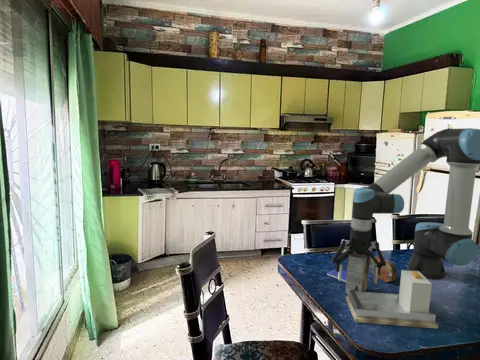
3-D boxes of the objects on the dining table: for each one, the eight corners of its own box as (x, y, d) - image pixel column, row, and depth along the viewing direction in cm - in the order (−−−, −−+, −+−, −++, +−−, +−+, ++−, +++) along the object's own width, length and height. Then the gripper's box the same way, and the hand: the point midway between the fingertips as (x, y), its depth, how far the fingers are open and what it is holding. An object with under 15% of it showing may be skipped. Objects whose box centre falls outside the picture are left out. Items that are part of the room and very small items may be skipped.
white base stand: (418, 302, 123) (419, 293, 123) (434, 322, 110) (436, 312, 109) (347, 297, 126) (348, 288, 125) (356, 316, 113) (356, 306, 112)
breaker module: (415, 302, 122) (419, 268, 120) (427, 318, 112) (432, 280, 110) (398, 301, 122) (401, 267, 120) (409, 316, 112) (412, 279, 110)
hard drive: (327, 272, 148) (352, 282, 139) (337, 267, 154) (362, 277, 145) (326, 275, 149) (352, 285, 140) (337, 271, 154) (362, 280, 145)
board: (417, 303, 125) (418, 300, 124) (438, 328, 109) (438, 325, 109) (345, 298, 127) (345, 295, 127) (355, 322, 112) (355, 318, 111)
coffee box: (350, 284, 139) (353, 247, 137) (367, 288, 136) (370, 250, 134) (344, 293, 131) (347, 254, 129) (361, 298, 128) (365, 257, 126)
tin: (366, 271, 154) (368, 253, 152) (372, 270, 154) (374, 252, 153) (390, 285, 139) (392, 266, 138) (397, 284, 140) (398, 265, 139)
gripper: (329, 229, 128) (326, 282, 131) (398, 233, 125) (393, 287, 128) (326, 224, 135) (323, 274, 138) (391, 227, 132) (386, 278, 135)
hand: (356, 280), depth 133 cm, fingers open, 13 cm apart
